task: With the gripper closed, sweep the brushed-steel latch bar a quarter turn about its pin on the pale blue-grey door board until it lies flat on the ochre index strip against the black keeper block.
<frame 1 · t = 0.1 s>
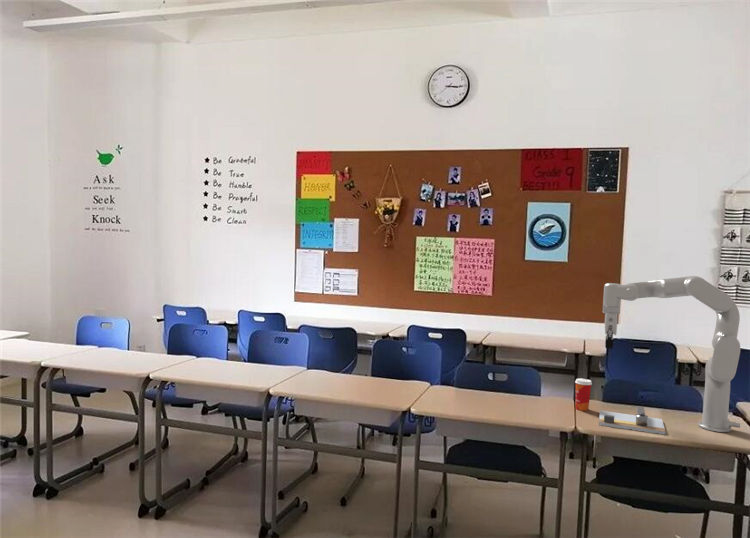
hand: (608, 346, 274), 31 cm above the table, fingers open, 9 cm apart
door board: (630, 423, 260), on the table
paper cup: (581, 409, 279), on the table
latch bar: (641, 414, 260), point 4 cm above the table, hinge at -90.0°
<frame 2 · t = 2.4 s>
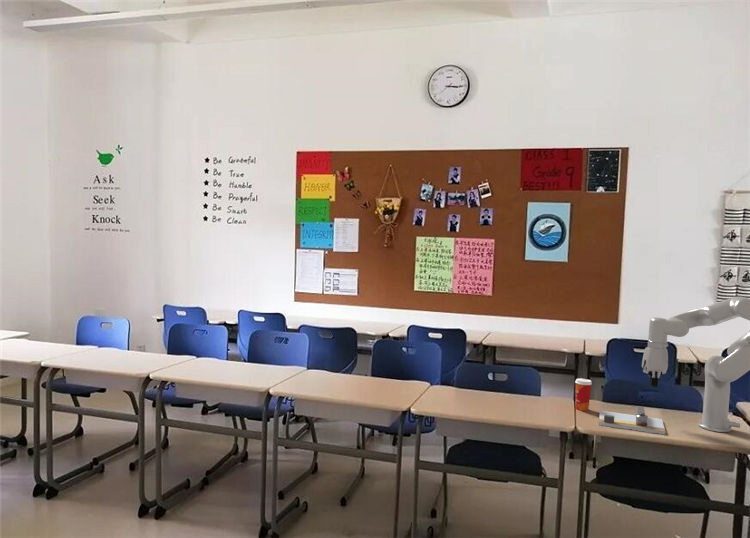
hand: (653, 386, 263), 16 cm above the table, fingers closed
nothing on the table moved.
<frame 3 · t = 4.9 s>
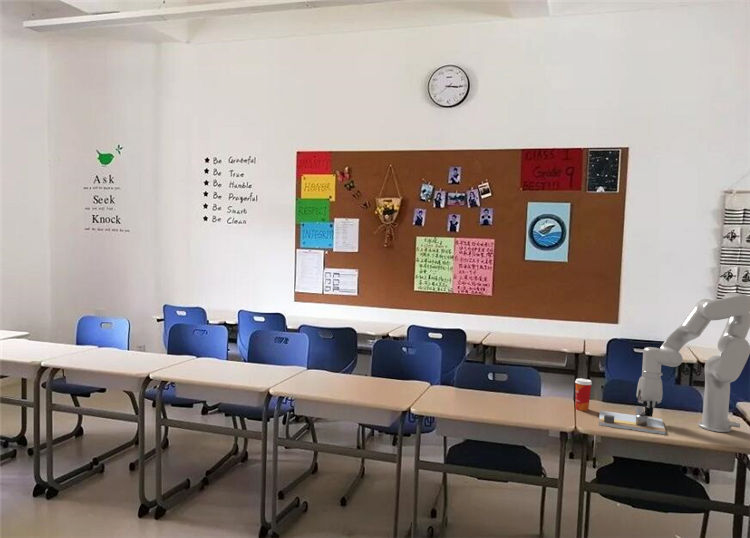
hand: (648, 415, 264), 3 cm above the table, fingers closed
latch bar: (640, 414, 260), point 4 cm above the table, hinge at -88.5°, touching gripper
everything else where it was.
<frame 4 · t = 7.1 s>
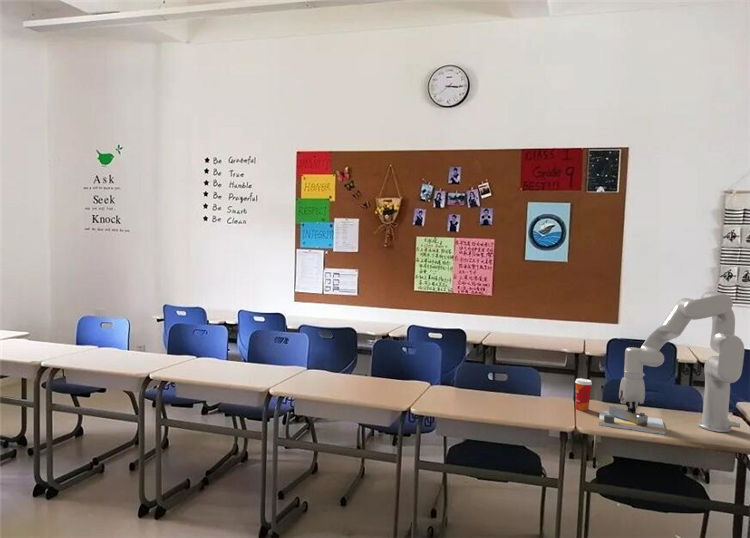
hand: (631, 416, 262), 2 cm above the table, fingers closed
latch bar: (628, 414, 259), point 4 cm above the table, hinge at -38.2°, touching gripper
everything else where it was.
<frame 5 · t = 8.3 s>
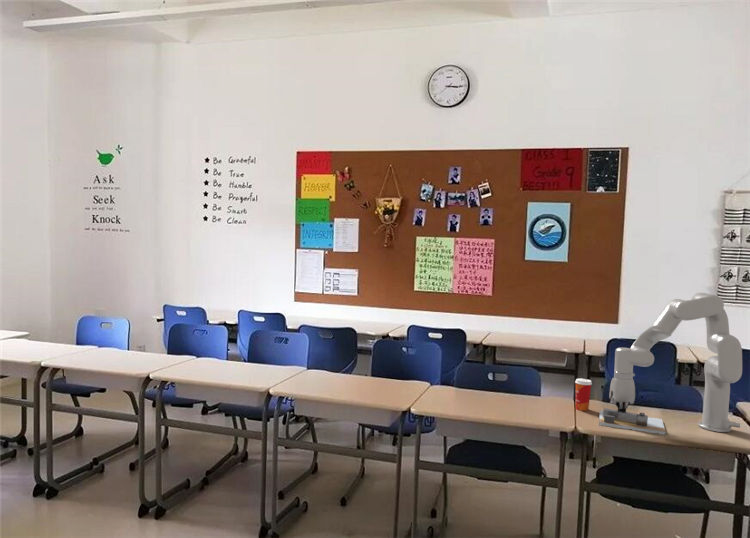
hand: (621, 416, 261), 2 cm above the table, fingers closed
latch bar: (625, 415, 257), point 4 cm above the table, hinge at -10.6°
everything else where it was.
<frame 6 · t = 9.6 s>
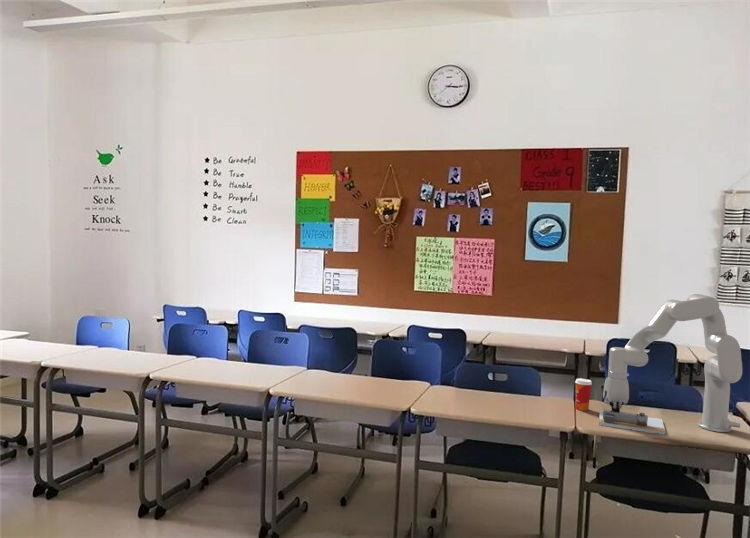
hand: (615, 416, 261), 2 cm above the table, fingers closed
latch bar: (625, 416, 256), point 4 cm above the table, hinge at -1.6°, touching gripper
everything else where it was.
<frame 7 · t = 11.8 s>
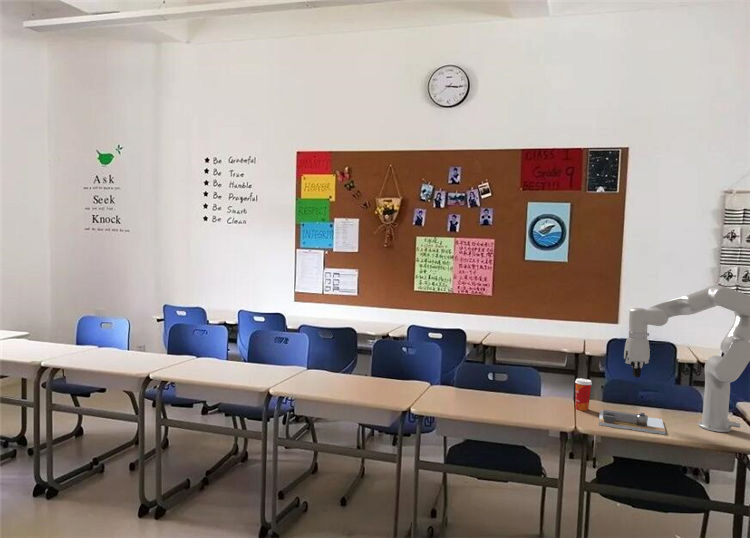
hand: (636, 376, 264), 20 cm above the table, fingers closed
latch bar: (625, 416, 256), point 4 cm above the table, hinge at -1.4°
everything else where it was.
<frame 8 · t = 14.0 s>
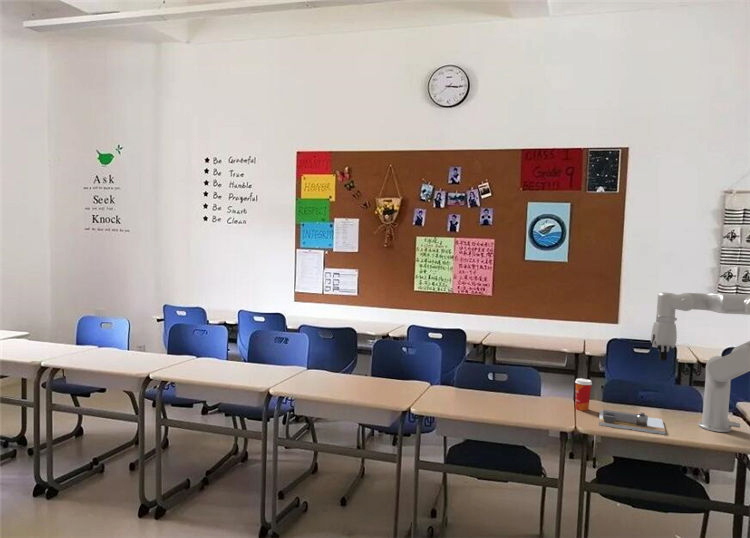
hand: (662, 360, 267), 27 cm above the table, fingers closed
nothing on the table moved.
at the end: latch bar at -1° (first picture: -90°) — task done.
